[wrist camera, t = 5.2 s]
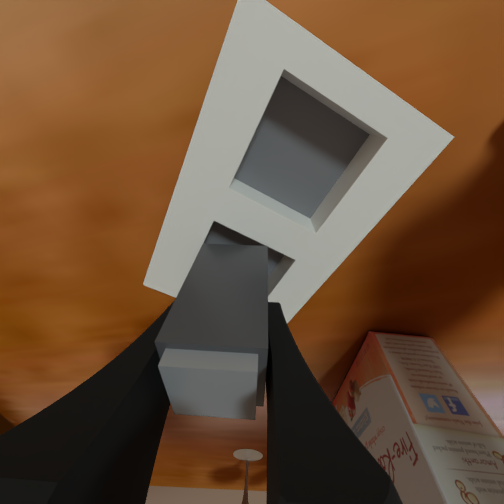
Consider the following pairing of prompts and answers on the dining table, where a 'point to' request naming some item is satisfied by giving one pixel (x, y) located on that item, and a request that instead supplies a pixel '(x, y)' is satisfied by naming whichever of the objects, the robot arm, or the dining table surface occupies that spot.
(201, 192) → the socket plate
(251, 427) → the dining table surface
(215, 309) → the plug
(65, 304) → the dining table surface
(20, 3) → the dining table surface
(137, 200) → the dining table surface
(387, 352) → the cracker box
